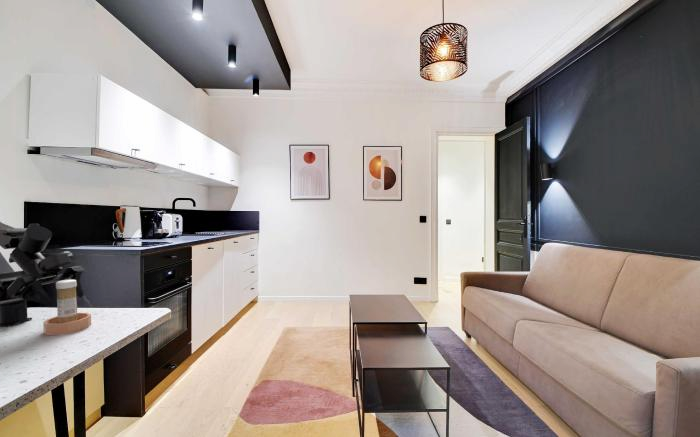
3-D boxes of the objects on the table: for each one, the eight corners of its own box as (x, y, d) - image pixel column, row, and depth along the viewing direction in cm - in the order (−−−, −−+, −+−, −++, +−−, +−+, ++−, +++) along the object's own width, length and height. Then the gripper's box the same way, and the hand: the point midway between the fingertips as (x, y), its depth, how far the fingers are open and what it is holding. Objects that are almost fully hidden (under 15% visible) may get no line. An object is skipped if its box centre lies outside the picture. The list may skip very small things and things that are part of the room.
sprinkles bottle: (77, 322, 100) (76, 278, 99) (77, 326, 96) (76, 280, 96) (57, 325, 97) (56, 280, 96) (56, 330, 93) (55, 283, 93)
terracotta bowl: (34, 334, 92) (33, 323, 92) (68, 321, 102) (68, 312, 102) (67, 335, 91) (67, 324, 91) (99, 322, 101) (98, 313, 101)
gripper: (14, 247, 87) (54, 289, 86) (79, 240, 106) (111, 275, 105) (-11, 276, 88) (27, 318, 87) (57, 264, 107) (89, 299, 106)
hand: (68, 300), depth 96 cm, fingers open, 9 cm apart
